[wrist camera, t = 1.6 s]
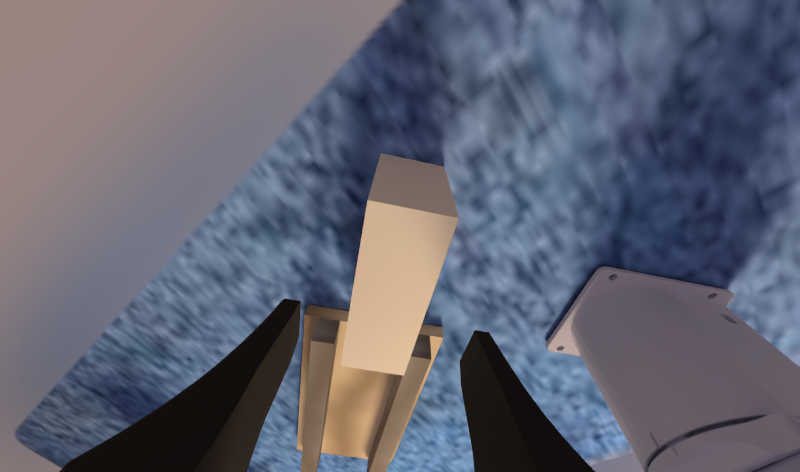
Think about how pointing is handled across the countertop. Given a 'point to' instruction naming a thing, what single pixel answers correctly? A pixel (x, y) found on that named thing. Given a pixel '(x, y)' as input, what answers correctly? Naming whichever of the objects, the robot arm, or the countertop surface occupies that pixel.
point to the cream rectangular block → (398, 262)
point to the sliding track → (355, 395)
